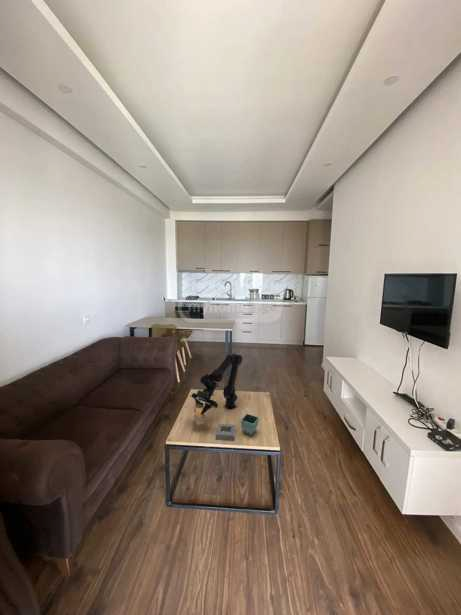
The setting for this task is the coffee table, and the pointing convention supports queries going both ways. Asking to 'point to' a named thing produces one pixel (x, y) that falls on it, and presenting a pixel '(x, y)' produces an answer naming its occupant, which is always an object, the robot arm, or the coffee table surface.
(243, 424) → the flower pot
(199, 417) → the plug
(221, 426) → the socket
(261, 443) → the coffee table surface
